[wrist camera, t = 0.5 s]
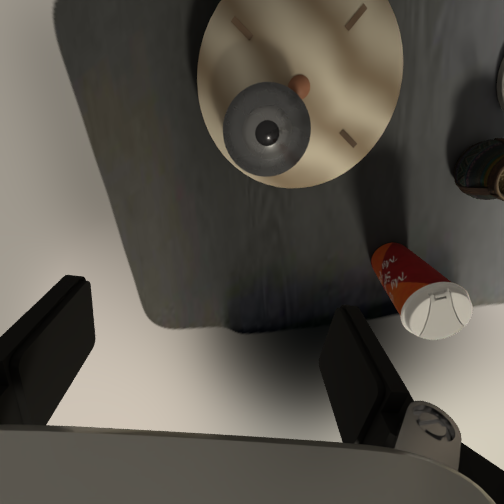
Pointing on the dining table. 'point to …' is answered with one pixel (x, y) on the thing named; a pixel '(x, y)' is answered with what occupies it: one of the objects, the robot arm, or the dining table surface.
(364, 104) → the turntable
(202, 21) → the dining table surface
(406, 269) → the paper cup
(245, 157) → the cover
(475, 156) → the mate gourd
